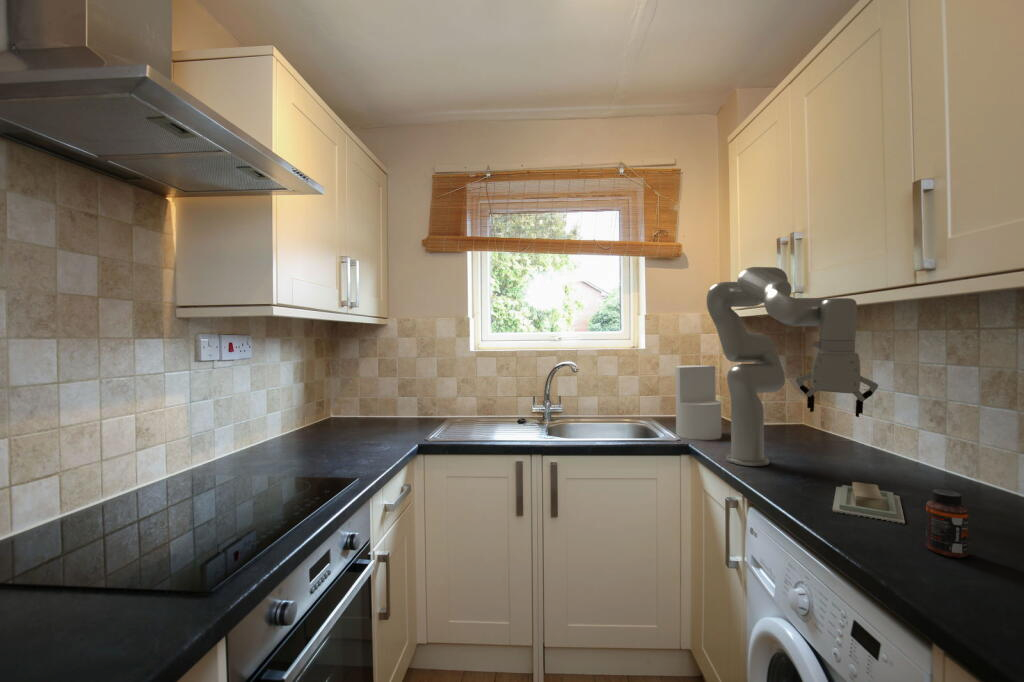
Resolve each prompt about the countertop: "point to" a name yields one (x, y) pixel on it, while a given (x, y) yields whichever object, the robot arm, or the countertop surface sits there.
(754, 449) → the robot arm
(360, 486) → the countertop surface
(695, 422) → the grey stepped piece
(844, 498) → the white flat rectangular tray
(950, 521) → the supplement bottle
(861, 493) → the birch tile
